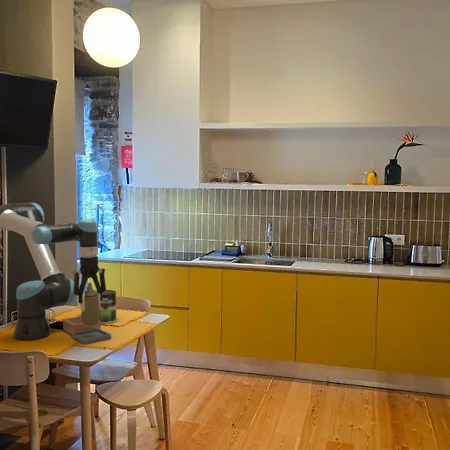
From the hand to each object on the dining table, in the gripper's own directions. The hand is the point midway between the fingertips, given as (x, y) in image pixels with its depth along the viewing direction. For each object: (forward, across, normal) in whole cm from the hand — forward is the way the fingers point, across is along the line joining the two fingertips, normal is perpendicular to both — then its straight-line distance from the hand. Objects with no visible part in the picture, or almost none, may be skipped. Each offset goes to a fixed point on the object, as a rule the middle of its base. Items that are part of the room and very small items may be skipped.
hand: (90, 309), depth 239 cm
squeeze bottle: (+7, 0, 0) cm, 7 cm away
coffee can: (+13, +18, +22) cm, 31 cm away
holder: (+13, +2, +14) cm, 19 cm away
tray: (+13, 0, 0) cm, 13 cm away
